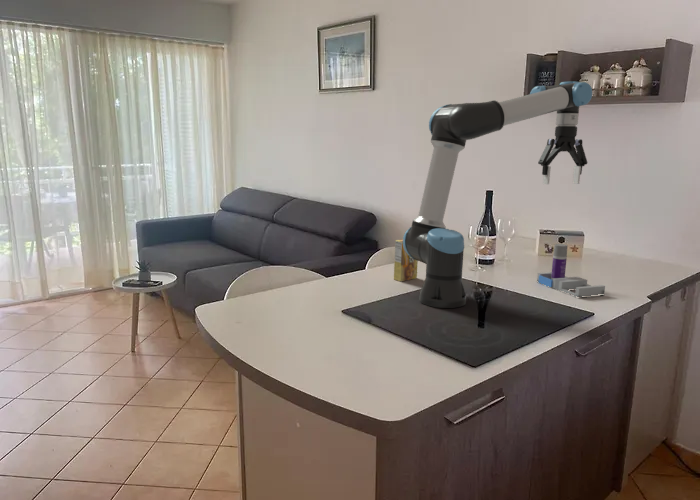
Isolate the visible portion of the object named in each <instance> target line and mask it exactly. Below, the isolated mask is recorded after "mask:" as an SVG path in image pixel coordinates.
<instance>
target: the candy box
mask: <svg viewBox="0 0 700 500" xmlns="http://www.w3.org/2000/svg"><path fill="white" fill-rule="evenodd" d="M418 262H419V261H417V260H415V259H413V258H412V257H411V256H409V255H408V254H407V253H406V251H405V250H404V247H403V238H402V239H395V241H394V263H393V265H394V266H393V280H395V281H398V282H404V281H405V282H406V281H410V280H414V279H418V278H417V277H418Z"/></svg>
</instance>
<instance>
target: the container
mask: <svg viewBox="0 0 700 500" xmlns="http://www.w3.org/2000/svg"><path fill="white" fill-rule="evenodd" d="M567 257H568V245H567V244H563V243H555V244H554V247H553V255H552V266H551V272H552V274H551V280H553V279H554V278H565V276H566V268H567V260H568V259H567Z"/></svg>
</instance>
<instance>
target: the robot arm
mask: <svg viewBox="0 0 700 500" xmlns="http://www.w3.org/2000/svg"><path fill="white" fill-rule="evenodd" d="M592 97H593V87H592V86H591V84H589V82H585V81H584V82H583V81H582V82H581V81H580V82H579V81H561V82H560V83H559V84H557V85H556V84H555V85H548V86H546V85H536V86H534V87H533V88H532V89H531V90H530V93H529V94H527V95H521V96H518V97H514V98H510V99H506V100H502V101H498V100H490V101H485V102H484V101H483V102H464V103H455V104H452V103H450V104H445V105H442V106H440V107H438V108H437V109H435V110H434V111H433V113H432V114H431V116H430V118H429V121H428V129H429V131H430V134H431V138H430V143H431V145H432V146H433V149H432V153H431V154H432V155H431V159H430V162H429V163H430V164H429V167H428V173H427V177H426V180H425V185H424V188H423V189H424V190H423V193H422V198H421V204H420V207H419V211H418V215H417V216H416V217H415V218H414V219H412V223H411V226H410V227H409V228H408V229H407V230H406V231H405V233H404V235H403V237H402V239H403V247H404V250H405V251H406V253H407V254H408V255H409V256H411V257H412V258H413V259H415V260H417V261H418V262H420V263H423V264H425V267H426V268H425V278H424V282H423V284H422V287H421V289H420V293H419V302H420V303H421V304H423V305H425V306H429V307H433V308H437V309H438V308H440V309H454V308H455V309H456V308H460V307H463V306H465V305H466V304H467V295H466V290H465V287H464V284H463V268H464V265H463V263H464V251H465V238H464V236H463V234H462V233H461V232H460V231H457V230H454V229H449V228H447V227H446V225H445V223H444V216H445V212H446V209H447V204H448V201H449V198H450V197H449V195H450V192H451V187H452V183H453V180H454V179H453V178H454V174H455V169H456V165H457V162H458V158H459V153H460V152H461V151H463V150H464V149H465V146H466V143H467V141H470V140H473V139H474V140H475V139H477V138H479V137H483V136H485V135H489V134H492V133H495V132H498V131H501V130H502V129H503V128H504V126H508V125H512V124H515V123H519V122H522V121H526V120H530V119H532V118H537V117H539V116H540V117H541V116H543V115H546V114H547V115H548V114H551V113H554V112H556V118H555V125H556V126H555V128H554V129H555V130H554V136H555V137H554V138H548V139H547V142H546V144H545V145H546V146H545V148H544V150H543V152H542V153H541V156H540V158H539V159H538V165H540V166H541V167H542V172H541V175H542V184H543V185H550V178H551V166H550V164H552V162H553V160H555V158H556V157H557V156H558V154H560V153H561V152H566V153H569V155H570V157H571V158H572V160H573V161H574V163H575V165H574V167H573V174H572V184H576V185H579V184H580V182H581V180H580V179H581V175H582V171H583V167H585V166H586V165H587V164H588V159H587V156H586V153H585V150H584V146H583V139H576V137H577V135H578V127H577V126H578V123H579V113H580V107H581V106H586V105H588V104H589V103H590V101H591V100H592Z"/></svg>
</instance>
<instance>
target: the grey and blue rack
mask: <svg viewBox="0 0 700 500" xmlns="http://www.w3.org/2000/svg"><path fill="white" fill-rule="evenodd" d="M551 274H552V271H546V272H537V278H536V279H537V280H536V282H537V281H538V282H539V283H541V284H540V285H542V284H544V285H546V286H545V287H547V286H549V287H553V288H556V289H558V290H561V291H564V292H566V293H569V294H572V295H574V296H577V297H582V296H591V295H598V294H604V295H605V289H606V286H605V285H603V284H598V285H591V284H588V279H586V278H582V277H580V276H572V277H571V276H569V277H568V276H566V275H565V278H554V279H553V280H551ZM538 282H537V283H538ZM539 283H538V284H539ZM544 285H543V286H544ZM549 287H548V288H549ZM553 288H552V289H553ZM556 289H555V290H556ZM569 289H576V290H575V292H573V291H568V290H569ZM558 290H557V291H558ZM561 291H560V292H561ZM566 293H565V294H566Z"/></svg>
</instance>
